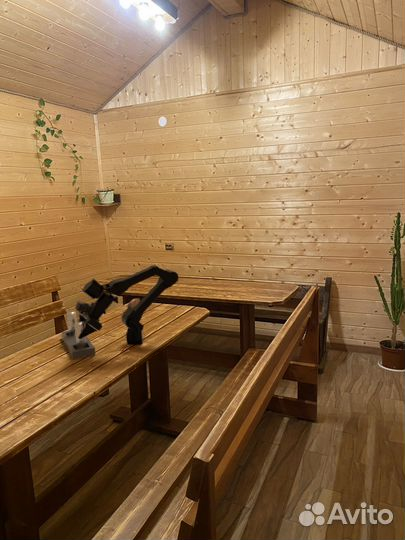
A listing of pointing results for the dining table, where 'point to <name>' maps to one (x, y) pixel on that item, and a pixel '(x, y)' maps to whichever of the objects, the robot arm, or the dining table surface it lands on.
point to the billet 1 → (71, 322)
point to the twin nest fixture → (72, 347)
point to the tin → (133, 302)
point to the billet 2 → (78, 329)
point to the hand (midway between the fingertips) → (76, 335)
